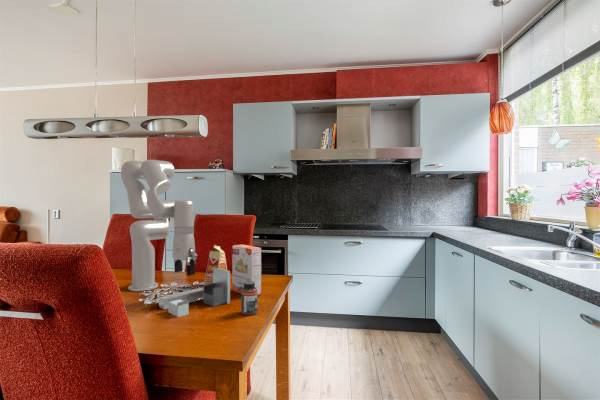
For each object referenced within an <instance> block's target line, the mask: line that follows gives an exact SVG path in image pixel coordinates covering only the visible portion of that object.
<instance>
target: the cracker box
mask: <svg viewBox="0 0 600 400" xmlns="http://www.w3.org/2000/svg"><path fill="white" fill-rule="evenodd" d="M231 252H232V253H231V254H232V256H231V257H232V260H231V261H232V264H231V265H232V271H231V272H232V273H231V277H232V285H231V286H232V287H231V289H232V290H231V291H233V292H235V293H239V294H241V290H242V288H243V287H244V282H246V281H254V282H255V287H256V288H257V291H258V296H261V295H262V247H257V246H254V245H252V246H251V245H247V244H243V243H242V244H234V245H232V251H231Z"/></svg>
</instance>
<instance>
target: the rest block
mask: <svg viewBox="0 0 600 400" xmlns="http://www.w3.org/2000/svg"><path fill="white" fill-rule="evenodd" d="M189 304H190V303H189V300H186V301H182V300H180V299H179V296H178V297H174V298H170V299H168V308H167V312H168V313H169V314H171V315H172V316H175V317H176V318H180V317H184V316H187V315H188V316H189V311H190V310H189V306H190V305H189Z"/></svg>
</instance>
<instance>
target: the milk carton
mask: <svg viewBox="0 0 600 400" xmlns="http://www.w3.org/2000/svg"><path fill="white" fill-rule="evenodd" d="M208 254H209V255H208V260H207V265H206V266H207V267H206V272H205V276H204V277H205V278H204V283H203V285H207V284H211V283H213V268H215V267H216V268H220V269H224V270H228V266H227V259H226V253H225V251H224V250H223V249H222V248H221V246H220V245H219V246H218V245H216V244H213V248H211V250H209V253H208Z"/></svg>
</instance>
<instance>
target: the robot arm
mask: <svg viewBox="0 0 600 400" xmlns="http://www.w3.org/2000/svg"><path fill="white" fill-rule="evenodd" d="M175 171H176V170H175V167H174V164H173V163H172V162H170V161H166V160H158V159H147V160H144V161H142V160H141V161H140V160H128V161H125V162H123V164H122V166H121V168H120V177H121V180H122V184H123V185H124V187H125V190H126V193H127V198H128V199H127V201H128V206H129V210H130V211H129V212H130V214H131V216H132V218H135V219H143V220H137V221H134V222H132V223H131V225H130V226H129V236H130V239H131V261H132V262H131V280H132V281H131V283H132V284H129V286H128V287H127V289H128V290H129V291H130V292H145V291H146V290H147V291H150V290H151V291H152V290H154V289H156V288H158V287H159V283H158V282H156V280H155V279H156V278H155V274H156V273H155V272H156V265H155V264H156V262H155V260H156V257H155V256H156V252H155V251H156V250H155V246H154V245H153V244H152V242H151V241H153V240H163V239H164V240H165V239H166V238H168V237H169V236H170V234H171V233H170V232H171V228H170V227H171V226H170V220H169V219H173V225H174V226H173V230H174V231H173V240H172V258H173V263H174V273H182V272H183V261H186V263H187V265H186V276H188V277H190V276H193V275H194V276H195V274H196V264H197V258H198V254H197V252H196V246H195V236H194V234H195V226H194V225H195V218H194V215H195V214H194V213H195V212H194V210H195V208H194V207H195V206H194V202H193V201H192V200H187V199H186V200H176V199H175V200H171V199H165V200H163V199H160V198H159V197H158V196H160V195H162V194H164V193H166V192H168V190H169V189H170V188H171V181H170V180H171V179H173V177H175V174H176V173H175ZM140 180H145V181H146V183H147V185H148V187H149V188H148V190H147V188H146V186H145V185H144V184H143V183H142V182H141V181H140Z"/></svg>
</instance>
